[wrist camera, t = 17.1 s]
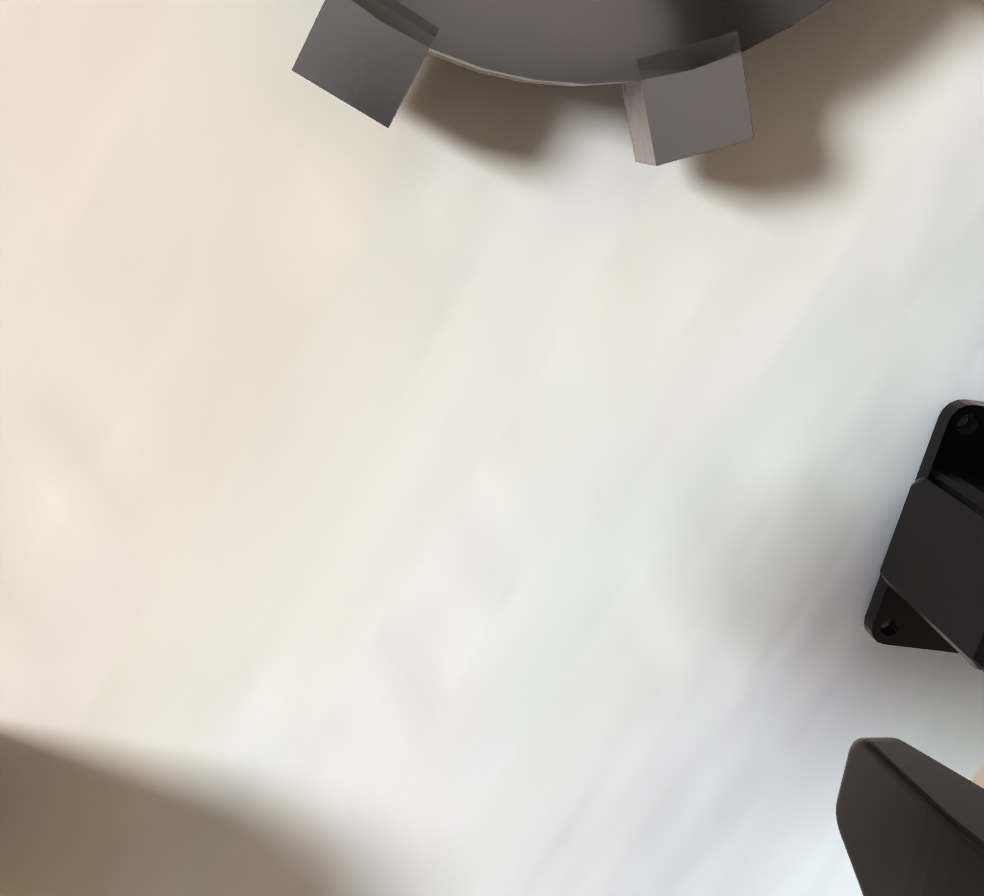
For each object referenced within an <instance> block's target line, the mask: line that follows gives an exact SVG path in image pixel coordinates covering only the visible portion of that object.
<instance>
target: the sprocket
mask: <svg viewBox="0 0 984 896" xmlns="http://www.w3.org/2000/svg"><path fill="white" fill-rule="evenodd" d="M827 1H829V0H325V2H324V4H323V6H322V8H321V10H320V12H319V14H318V16H317V18H316V20H315V23H314V25H313V27H312V29H311V31H310V33H309V35H308V37H307V39H306V41H305V43H304V46H303V48H302V50H301V52H300V54H299V56H298V58H297V60H296V62H295V64H294V67H293V69H292V71H294V72H296V73H297V74H299V75H301V76H302V77H304V78H306V79H307V80H309V81H311V82H312V83H314V84H316V85H317V86H319V87H321V88H322V89H324V90H326V91H327V92H329V93H331V94H332V95H334V96H336V97H337V98H339V99H341V100H342V101H344V102H346V103H347V104H349V105H351V106H352V107H354V108H356V109H357V110H359V111H361V112H362V113H364V114H366V115H367V116H369V117H371V118H372V119H374V120H376V121H377V122H379V123H381V124H382V125H384V126H386V127H387V128H389V126H390V124H391V122H392V120H393V118H394V117H395V115H396V113H397V111H398V109H399V107H400V105H401V103H402V101H403V99H404V97H405V95H406V93H407V91H408V89H409V87H410V85H411V84H412V82H413V80H414V78H415V76H416V74H417V72H418V70H419V68H420V66H421V64H422V62H423V60H424V58H425V56H426V54H429V55H432V56H435V57H437V58H440V59H443V60H445V61H448V62H450V63H453V64H456V65H458V66H461V67H464V68H466V69H469V70H472V71H474V72H478V73H483V74H487V75H491V76H496V77H500V78H505V79H509V80H514V81H518V82H522V83H533V84H546V85H558V86H571V87H573V86H588V85H604V84H620V83H621V89H622V94H623V99H624V104H625V109H626V114H627V120H628V125H629V130H630V135H631V140H632V145H633V151H634V156H635V161H636V162H639V163H644V164H649V165H654V166H658V165H661V164H665V163H668V162H672V161H675V160H679V159H683V158H686V157H690V156H693V155H697V154H700V153H704V152H707V151H711V150H715V149H718V148H722V147H725V146H729V145H732V144H736V143H739V142H743V141H747V140H750V139H754V138H753V131H752V124H751V117H750V110H749V103H748V96H747V89H746V83H745V76H744V69H743V62H742V55H741V52H743V51H745V50H747V49H749V48H751V47H752V46H754V45H756V44H758V43H760V42H762V41H764V40H766V39H768V38H770V37H772V36H774V35H776V34H778V33H780V32H782V31H784V30H785V29H787V28H789V27H791V26H793V25H794V24H795V23H797V22H798V21H800V20H801V19H803V18H804V17H806V16H807V15H809V14H810V13H811V12H813V11H814V10H816V9H817V8H819V7H820V6H822V5H823V4H824V3H826V2H827Z"/></svg>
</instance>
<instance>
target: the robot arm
mask: <svg viewBox="0 0 984 896" xmlns="http://www.w3.org/2000/svg"><path fill="white" fill-rule="evenodd" d="M965 415H968V421H967V422H966V424H965V425H964V426H963V427H962V428H960V429H957V424H958V422H959V420H960V419H961V418H962V417H964V416H965ZM880 573H881V575H880V577H879V580H878V583H877V585H876V588H875V591H874V594H873V596H872V599H871V602H870V604H869V607H868V610H867V613H866V615H865V620H864V625H865V629H866V630H867V631H868V632H869V634H870V635H871V636H872V637H873V638H874V639H875V640H876V641H877V642H879V643H882V644H887V645H895V646H904V647H912V648H921V649H929V650H937V651H946V652H954V653H960V654H961V655H962V656H963V657H964V658H965V659H966V660H967V661H968V662H969V663H970V664H971V665H972V666H973V667H975V668H977V669H979V670H983V671H984V403H982V402H976V401H970V400H956V401H954V402H951V403H949V404H948V405H947V406H946V407H945V408H944V409H943V410H942V412H941V413H940V415H939V417H938V420H937V423H936V425H935V428H934V431H933V433H932V436H931V439H930V442H929V444H928V447H927V450H926V452H925V455H924V458H923V461H922V463H921V466H920V469H919V471H918V474H917V477H916V480H915V482H914V483H913V484H912V486H911V488H910V491H909V493H908V496H907V499H906V501H905V504H904V507H903V510H902V512H901V515H900V518H899V521H898V523H897V526H896V529H895V531H894V534H893V537H892V540H891V542H890V545H889V548H888V550H887V553H886V556H885V559H884V561H883V564H882V567H881V570H880ZM888 619H892V621H891V622H890V624H889V625H887V626H885V627H882V628H881V626H882V624H883V623H884V622H885V621H886V620H888ZM836 818H837V824H838V828H839V831H840V834H841V837H842V839H843V842H844V845H845V848H846V850H847V853H848V856H849V858H850V861H851V864H852V866H853V869H854V872H855V874H856V877H857V880H858V883H859V885H860V888H861V891H862V893H863V896H984V789H983V788H981V787H980V786H978V785H976V784H975V783H973V782H971V781H970V780H968V779H966V778H964V777H963V776H961V775H959V774H958V773H956V772H954V771H953V770H951V769H949V768H947V767H946V766H944V765H942V764H941V763H939V762H937V761H936V760H934V759H932V758H930V757H929V756H927V755H925V754H924V753H922V752H920V751H918V750H917V749H915V748H913V747H912V746H910V745H908V744H907V743H905V742H903V741H901V740H899V739H896V738H860V739H858V740H856V741H855V742H854V743H853V744H852V745H851V747H850V750H849V753H848V757H847V761H846V766H845V770H844V774H843V778H842V782H841V786H840V790H839V794H838V798H837V804H836Z"/></svg>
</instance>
